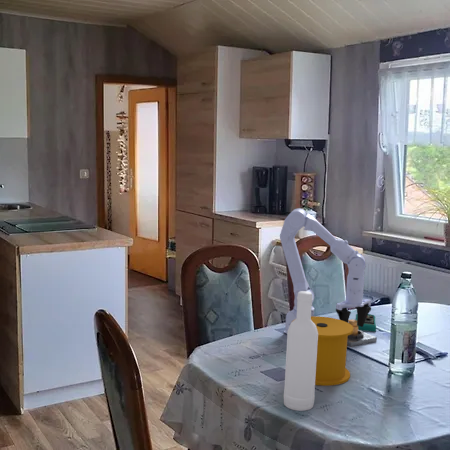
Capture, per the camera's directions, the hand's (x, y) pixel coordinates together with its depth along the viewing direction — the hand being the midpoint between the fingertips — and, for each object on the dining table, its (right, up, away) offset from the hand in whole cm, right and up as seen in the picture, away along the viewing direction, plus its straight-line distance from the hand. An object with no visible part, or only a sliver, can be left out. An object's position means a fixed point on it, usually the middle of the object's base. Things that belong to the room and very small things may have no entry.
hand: (352, 327), depth 216 cm
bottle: (-25, -12, -53) cm, 60 cm away
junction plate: (0, -4, +1) cm, 4 cm away
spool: (-16, -9, -32) cm, 37 cm away
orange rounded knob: (0, -3, 0) cm, 3 cm away
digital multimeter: (+8, -3, +17) cm, 19 cm away
